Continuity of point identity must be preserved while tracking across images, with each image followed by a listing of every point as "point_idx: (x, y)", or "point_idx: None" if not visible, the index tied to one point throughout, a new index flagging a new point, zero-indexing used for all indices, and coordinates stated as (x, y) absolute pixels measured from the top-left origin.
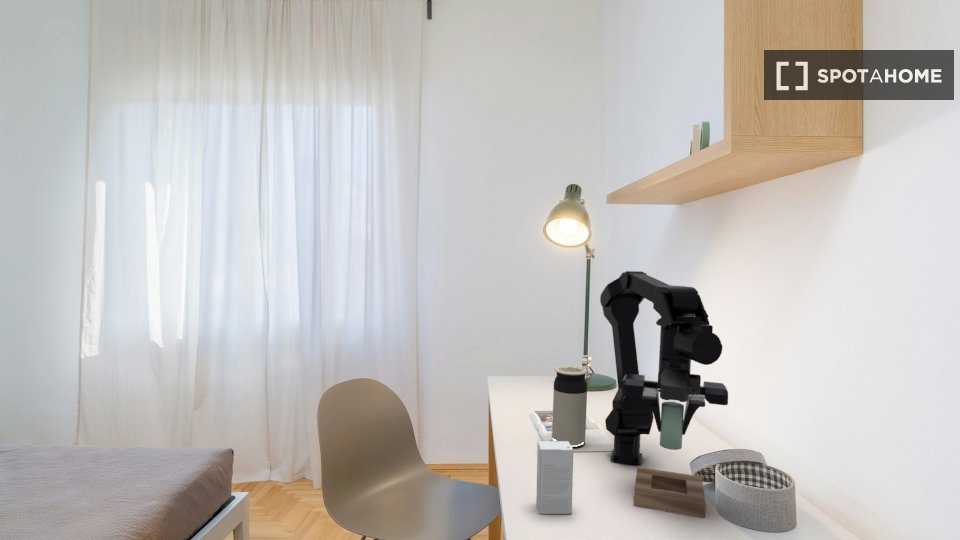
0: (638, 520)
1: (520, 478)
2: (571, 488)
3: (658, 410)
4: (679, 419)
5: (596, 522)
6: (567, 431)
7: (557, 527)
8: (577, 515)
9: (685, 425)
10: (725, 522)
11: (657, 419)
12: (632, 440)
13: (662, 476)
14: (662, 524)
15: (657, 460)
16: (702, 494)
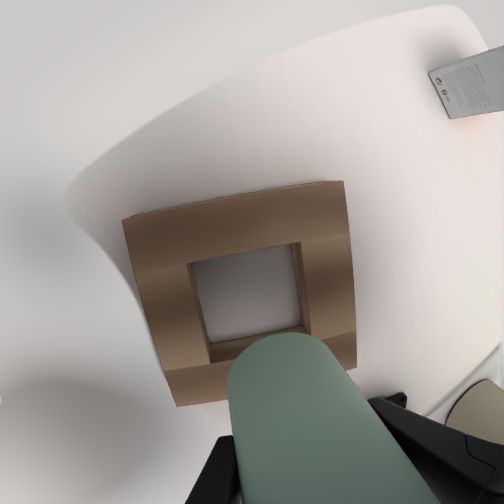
0: (297, 103)
1: None
2: (468, 58)
3: (469, 472)
4: (271, 497)
5: (377, 57)
6: (496, 400)
7: (424, 21)
8: (418, 74)
9: (216, 479)
10: (84, 223)
11: (429, 430)
12: None
13: None
14: (234, 112)
15: None
16: (143, 289)
